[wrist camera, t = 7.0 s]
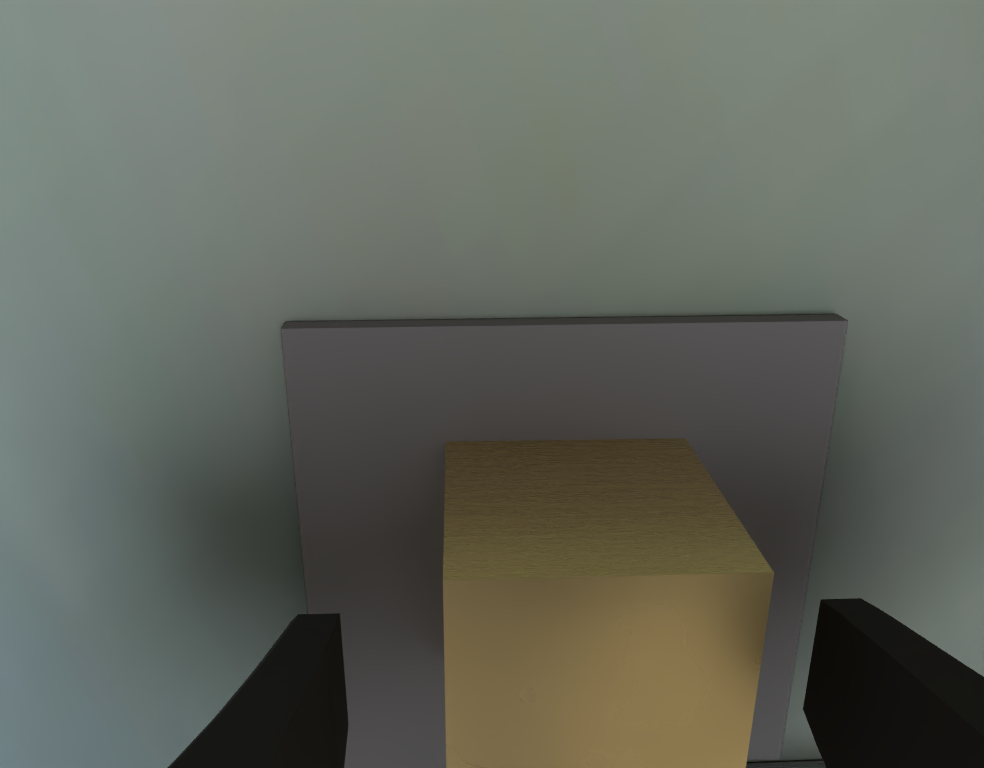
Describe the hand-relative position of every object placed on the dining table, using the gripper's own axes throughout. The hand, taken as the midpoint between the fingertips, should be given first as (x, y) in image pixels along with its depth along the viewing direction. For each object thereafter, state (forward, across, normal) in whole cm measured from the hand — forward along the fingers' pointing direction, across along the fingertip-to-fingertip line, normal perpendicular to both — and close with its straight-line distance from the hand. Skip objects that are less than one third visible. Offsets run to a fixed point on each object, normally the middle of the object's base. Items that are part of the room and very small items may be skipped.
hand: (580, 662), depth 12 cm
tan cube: (+2, 0, 0) cm, 2 cm away
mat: (+3, 0, 0) cm, 3 cm away
